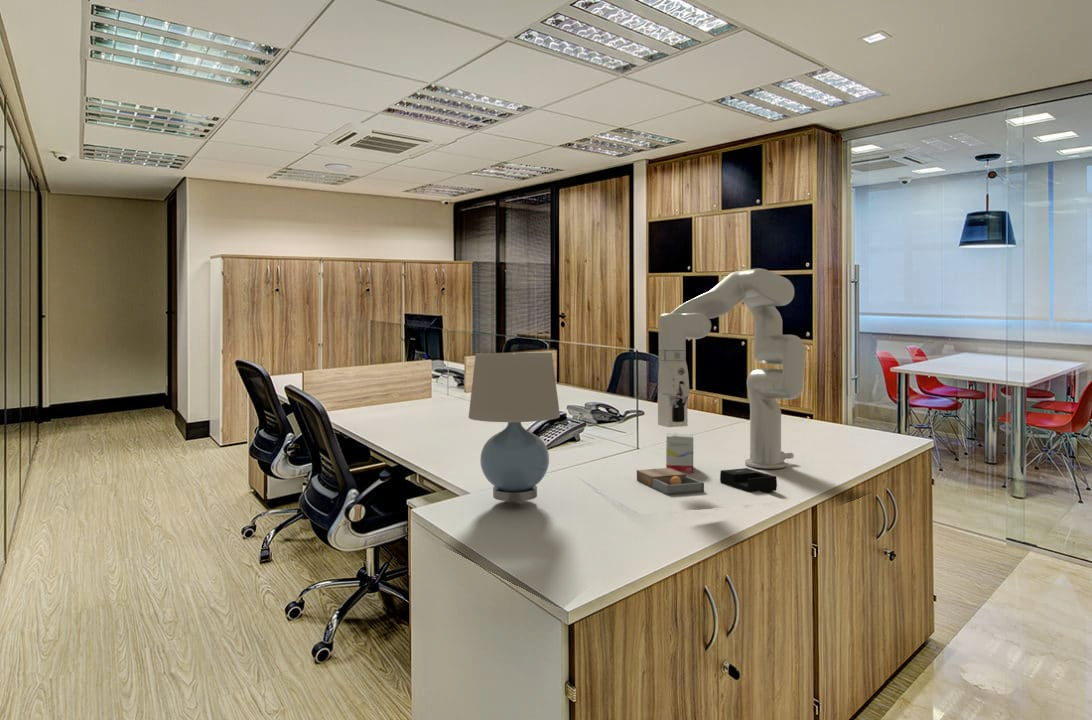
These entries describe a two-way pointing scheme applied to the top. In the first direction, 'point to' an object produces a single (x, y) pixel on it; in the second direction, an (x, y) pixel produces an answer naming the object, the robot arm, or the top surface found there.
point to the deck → (656, 474)
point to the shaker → (669, 412)
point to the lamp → (514, 419)
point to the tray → (677, 485)
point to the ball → (675, 480)
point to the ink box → (679, 452)
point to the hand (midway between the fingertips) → (672, 419)
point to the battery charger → (748, 480)
